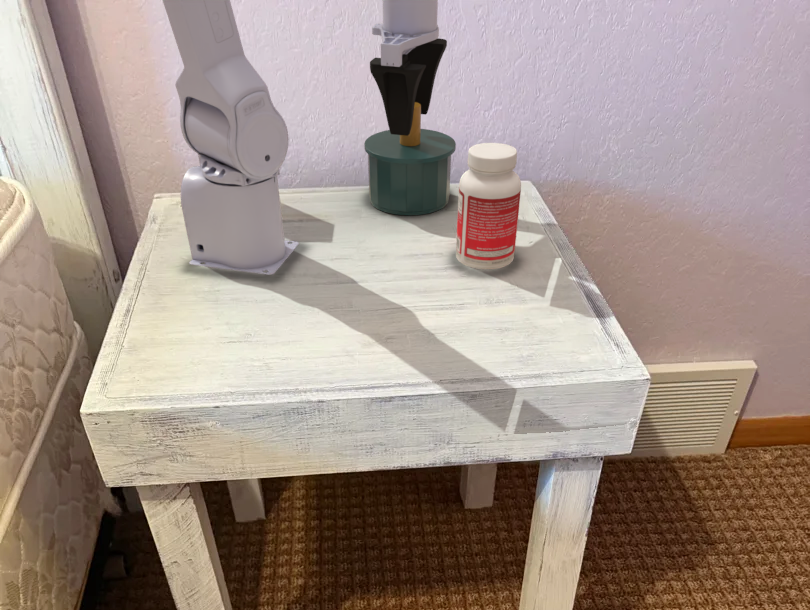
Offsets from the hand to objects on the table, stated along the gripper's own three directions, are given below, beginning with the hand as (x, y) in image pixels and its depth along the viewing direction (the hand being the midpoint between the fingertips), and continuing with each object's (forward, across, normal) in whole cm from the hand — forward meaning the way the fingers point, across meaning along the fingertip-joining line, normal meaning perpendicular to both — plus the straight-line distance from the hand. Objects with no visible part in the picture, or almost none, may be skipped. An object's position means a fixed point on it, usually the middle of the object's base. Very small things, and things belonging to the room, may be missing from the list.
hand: (409, 123), depth 87 cm
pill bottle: (+9, +14, +12) cm, 20 cm away
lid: (+3, 0, 0) cm, 3 cm away
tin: (+8, 0, 0) cm, 8 cm away
